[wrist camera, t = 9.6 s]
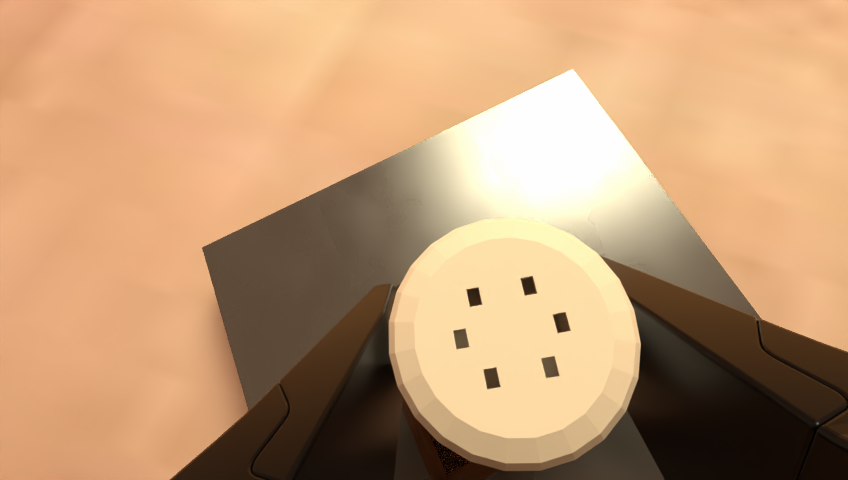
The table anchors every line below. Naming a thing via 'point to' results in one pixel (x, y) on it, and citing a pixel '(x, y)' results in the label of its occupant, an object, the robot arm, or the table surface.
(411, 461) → the holder block
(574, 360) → the pepper shaker
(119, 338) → the table surface
